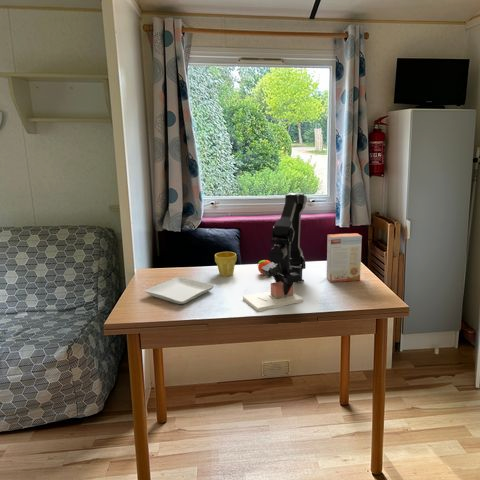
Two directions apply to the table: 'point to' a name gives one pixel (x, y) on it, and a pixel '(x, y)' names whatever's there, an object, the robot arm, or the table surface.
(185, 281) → the salad plate
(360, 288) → the table surface
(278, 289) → the block
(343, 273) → the cracker box
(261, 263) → the clementine
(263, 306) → the board
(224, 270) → the plant pot
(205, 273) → the table surface
